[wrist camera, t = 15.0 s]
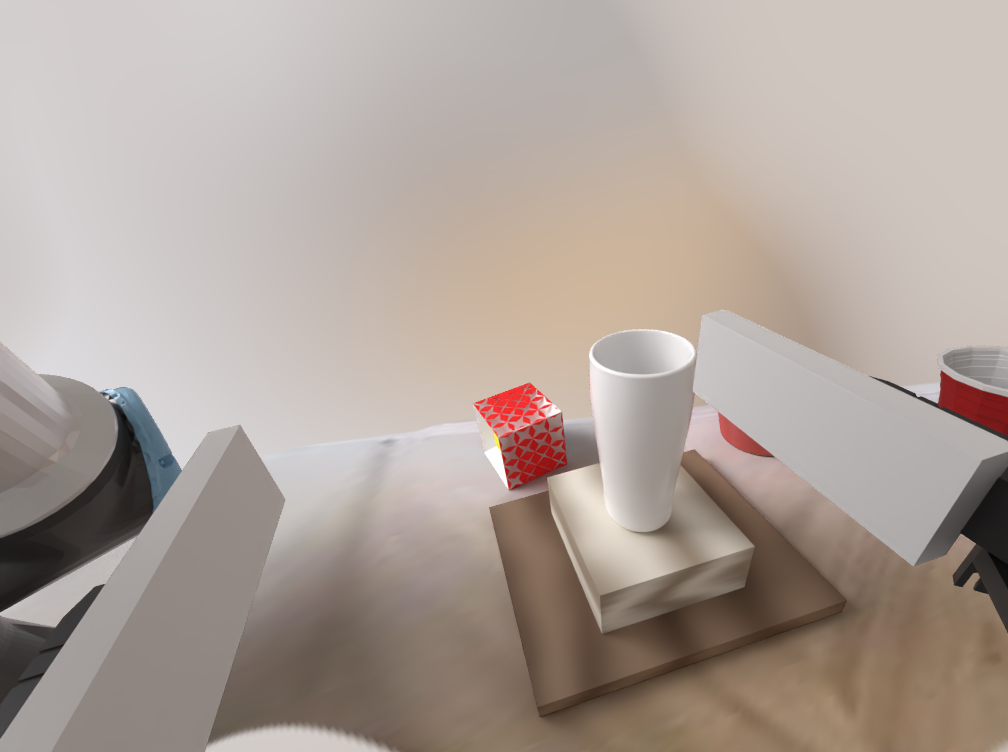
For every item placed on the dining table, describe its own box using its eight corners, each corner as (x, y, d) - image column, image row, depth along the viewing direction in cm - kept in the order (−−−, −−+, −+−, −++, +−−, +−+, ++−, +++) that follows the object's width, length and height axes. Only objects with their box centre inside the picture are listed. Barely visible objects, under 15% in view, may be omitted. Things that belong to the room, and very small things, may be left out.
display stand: (539, 716, 27) (528, 671, 24) (491, 517, 43) (480, 473, 40) (841, 611, 30) (867, 558, 27) (693, 459, 46) (698, 413, 42)
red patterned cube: (484, 452, 52) (472, 403, 48) (536, 430, 55) (529, 382, 51) (509, 491, 46) (498, 438, 42) (567, 464, 48) (562, 412, 44)
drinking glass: (616, 469, 37) (614, 322, 30) (692, 497, 33) (712, 336, 26) (581, 520, 33) (568, 363, 25) (663, 559, 29) (677, 387, 21)
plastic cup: (1026, 449, 40) (1096, 342, 34) (1091, 535, 32) (1197, 415, 26) (883, 429, 45) (922, 333, 39) (909, 498, 37) (963, 392, 31)
